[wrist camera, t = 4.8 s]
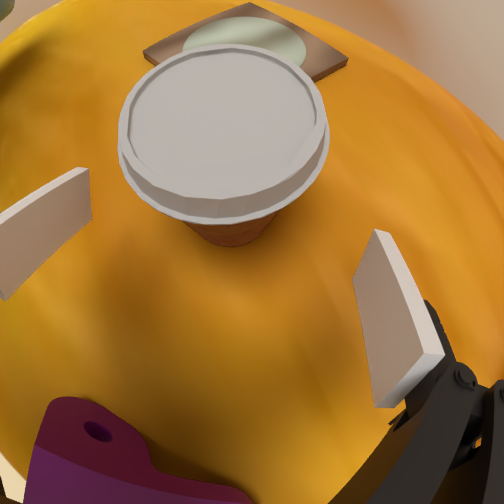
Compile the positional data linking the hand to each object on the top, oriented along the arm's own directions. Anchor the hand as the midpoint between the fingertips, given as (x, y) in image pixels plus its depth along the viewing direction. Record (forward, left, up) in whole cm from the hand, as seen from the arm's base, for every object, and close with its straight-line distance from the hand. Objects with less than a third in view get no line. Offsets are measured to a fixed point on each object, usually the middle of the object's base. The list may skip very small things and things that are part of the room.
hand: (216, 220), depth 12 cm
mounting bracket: (+10, -18, -10) cm, 23 cm away
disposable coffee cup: (-3, +3, -10) cm, 10 cm away
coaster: (-16, +16, -9) cm, 24 cm away
